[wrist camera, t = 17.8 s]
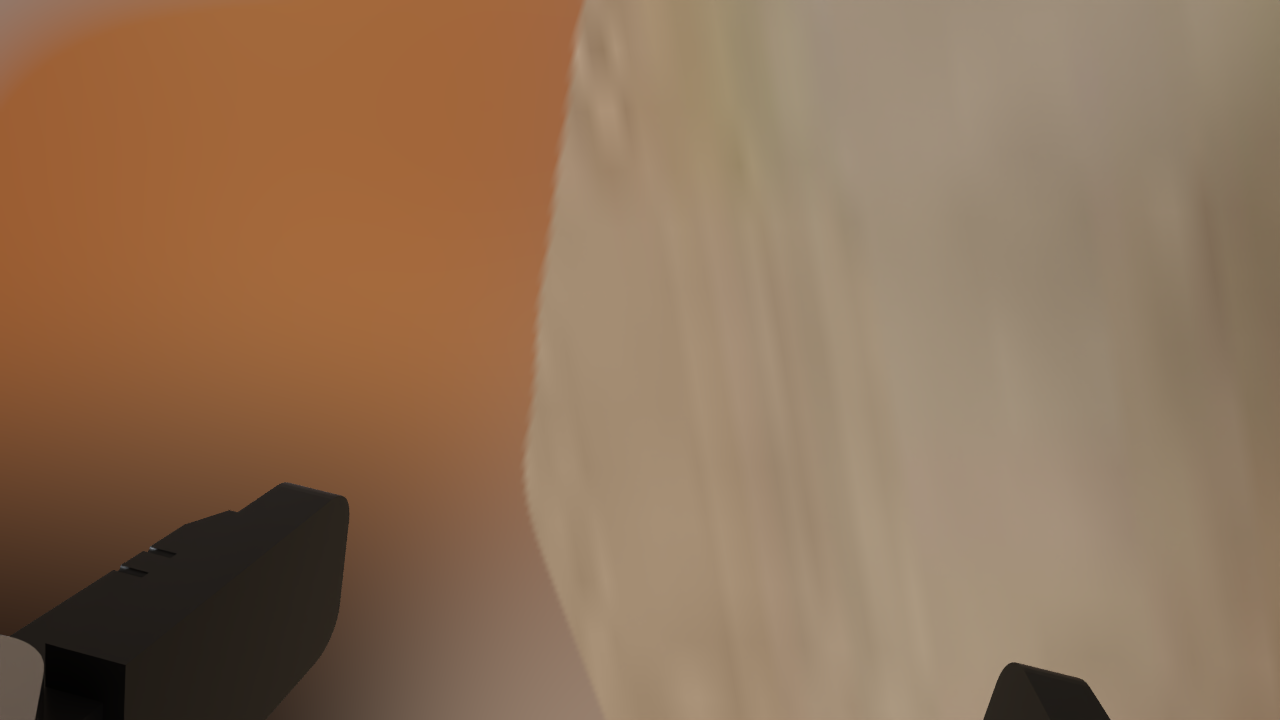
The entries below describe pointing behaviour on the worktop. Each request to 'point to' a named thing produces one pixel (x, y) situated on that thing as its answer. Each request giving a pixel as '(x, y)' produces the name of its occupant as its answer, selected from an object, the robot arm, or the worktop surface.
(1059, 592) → the worktop surface
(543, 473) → the worktop surface
